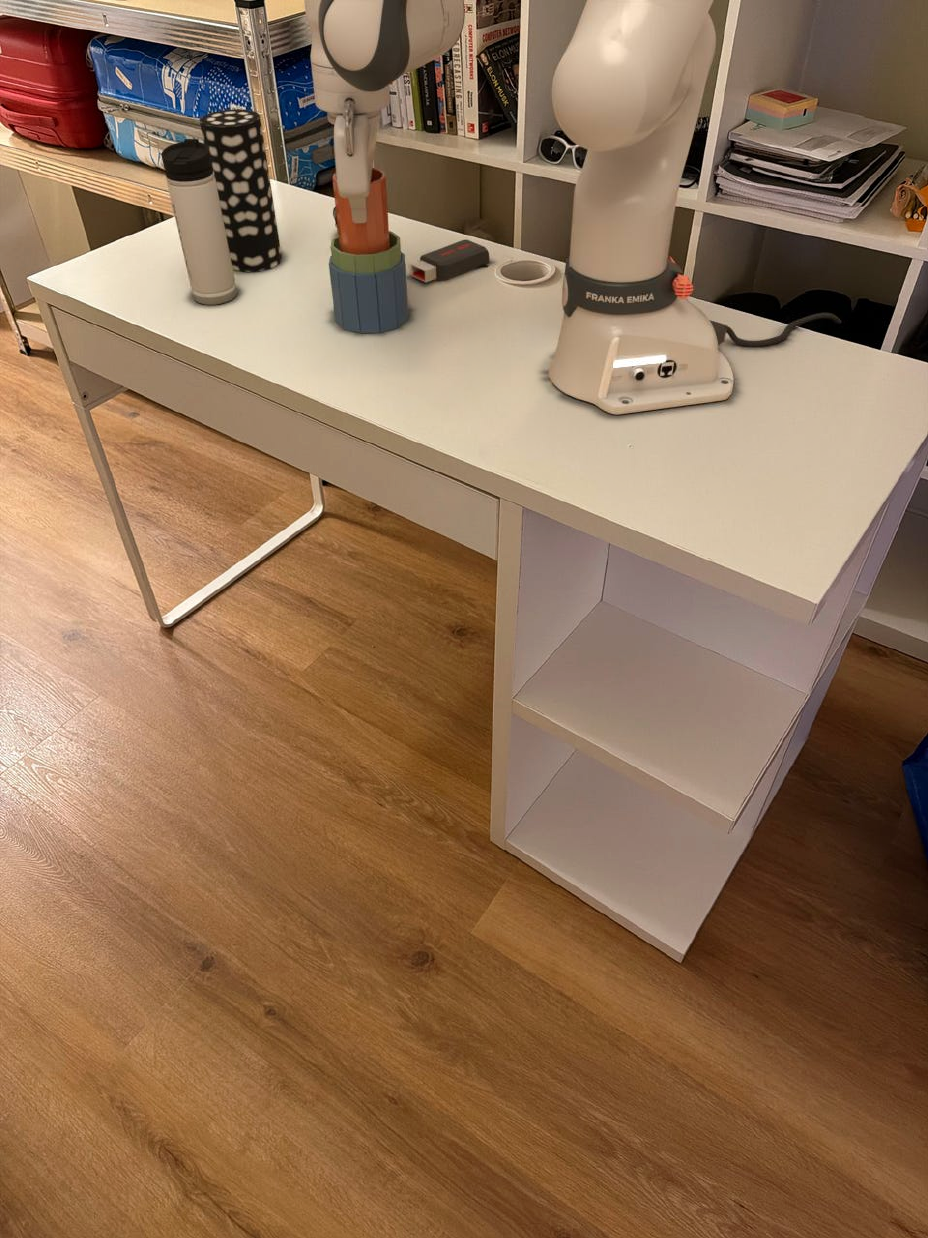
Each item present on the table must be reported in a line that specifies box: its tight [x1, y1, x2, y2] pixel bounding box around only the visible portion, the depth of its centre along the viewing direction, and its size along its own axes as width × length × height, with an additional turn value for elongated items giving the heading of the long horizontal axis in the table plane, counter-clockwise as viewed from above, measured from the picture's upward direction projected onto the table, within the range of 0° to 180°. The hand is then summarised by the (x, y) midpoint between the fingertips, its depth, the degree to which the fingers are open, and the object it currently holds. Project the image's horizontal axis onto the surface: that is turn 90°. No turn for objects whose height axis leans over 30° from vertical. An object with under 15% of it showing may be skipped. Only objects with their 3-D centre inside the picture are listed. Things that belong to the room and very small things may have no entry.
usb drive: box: [410, 239, 490, 283], centre depth 136 cm, size 5×12×3 cm, turn 133°
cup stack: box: [328, 230, 409, 334], centre depth 122 cm, size 10×10×10 cm
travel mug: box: [160, 138, 238, 306], centre depth 124 cm, size 6×7×20 cm
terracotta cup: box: [332, 167, 390, 255], centre depth 116 cm, size 6×6×10 cm
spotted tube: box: [199, 108, 283, 273], centre depth 133 cm, size 8×8×20 cm
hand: (361, 209), depth 116 cm, fingers closed on terracotta cup, 6 cm apart
